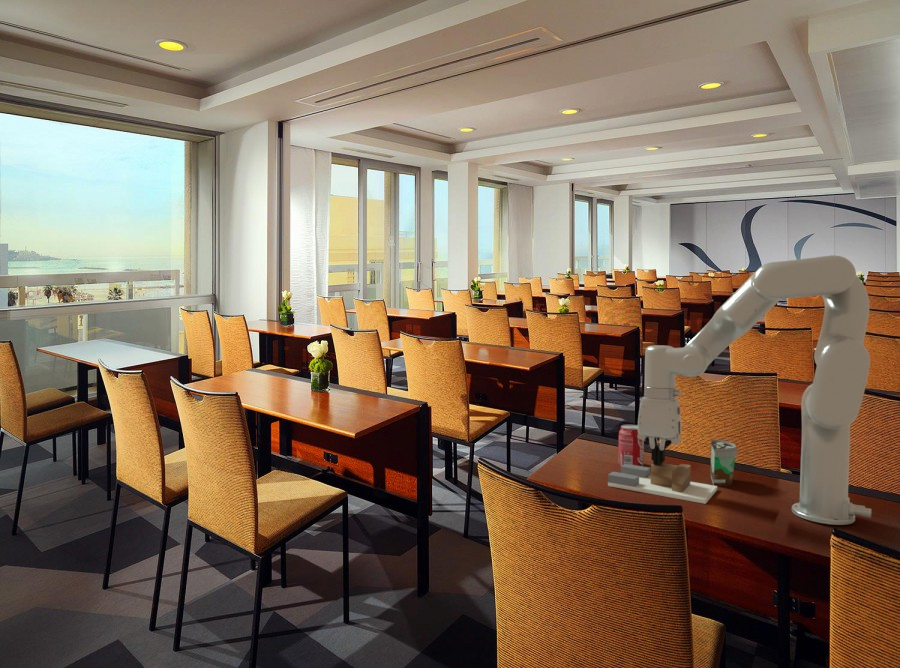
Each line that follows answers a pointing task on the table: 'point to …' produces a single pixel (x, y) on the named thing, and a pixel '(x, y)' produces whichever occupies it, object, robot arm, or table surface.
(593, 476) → the table surface
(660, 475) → the t block
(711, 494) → the board
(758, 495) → the table surface
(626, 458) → the soda can
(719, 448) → the food container
